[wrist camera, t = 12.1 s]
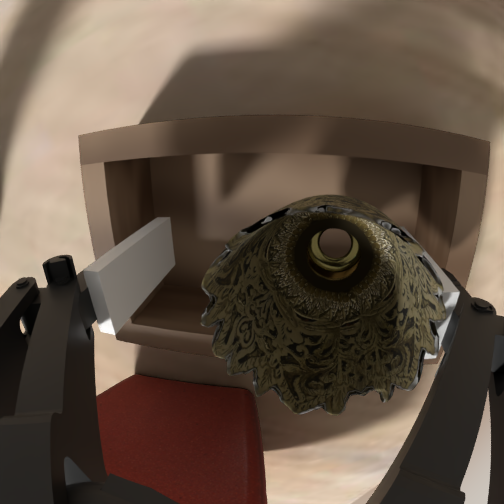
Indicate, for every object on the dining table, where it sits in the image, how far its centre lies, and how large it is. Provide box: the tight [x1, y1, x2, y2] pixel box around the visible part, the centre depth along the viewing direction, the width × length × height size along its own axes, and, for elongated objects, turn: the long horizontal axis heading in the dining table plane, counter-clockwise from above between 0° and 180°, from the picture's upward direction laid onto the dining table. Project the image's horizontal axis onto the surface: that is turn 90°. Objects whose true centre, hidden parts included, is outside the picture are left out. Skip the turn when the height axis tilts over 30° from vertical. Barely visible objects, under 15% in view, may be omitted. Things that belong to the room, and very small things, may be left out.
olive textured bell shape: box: [201, 195, 446, 416], centre depth 12 cm, size 8×7×8 cm
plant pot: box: [96, 375, 267, 504], centre depth 21 cm, size 19×19×17 cm
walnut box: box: [79, 115, 490, 364], centre depth 16 cm, size 13×20×6 cm, turn 91°
